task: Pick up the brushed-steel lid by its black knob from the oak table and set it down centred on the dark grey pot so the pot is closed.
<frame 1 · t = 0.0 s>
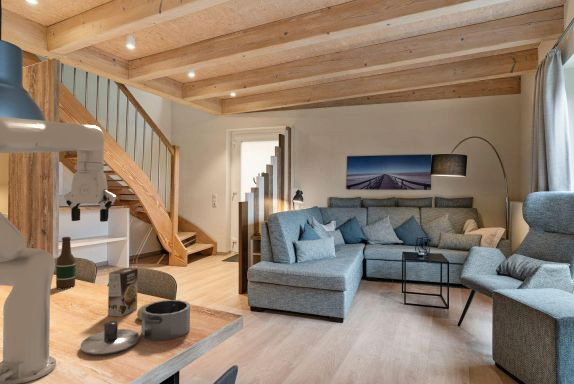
hand: (89, 221, 112), 37 cm above the table, tool pointing down, fingers open, 9 cm apart
beer bottle: (65, 287, 164), on the table
pot: (166, 330, 115), on the table
lid: (110, 345, 104), on the table
coffee box: (123, 312, 132), on the table
sea urchin shell: (150, 318, 127), on the table
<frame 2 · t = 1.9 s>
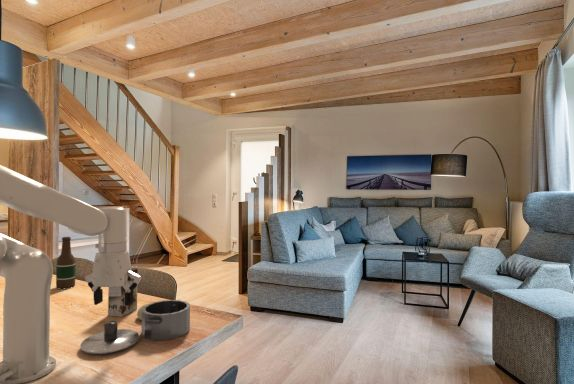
hand: (113, 303, 104), 12 cm above the table, tool pointing down, fingers open, 9 cm apart
nothing on the table moved.
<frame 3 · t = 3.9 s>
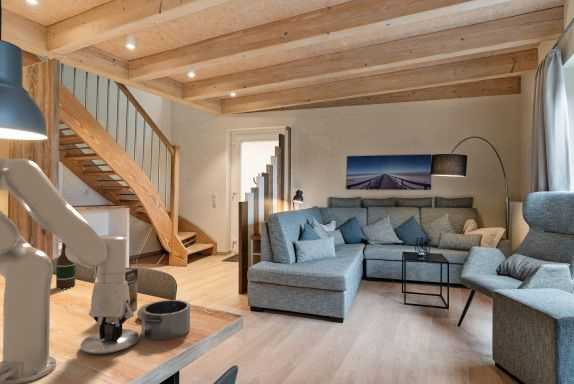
hand: (110, 337, 104), 2 cm above the table, tool pointing down, fingers closed on lid, 3 cm apart
lid: (110, 345, 104), on the table, touching gripper
everything else where it was.
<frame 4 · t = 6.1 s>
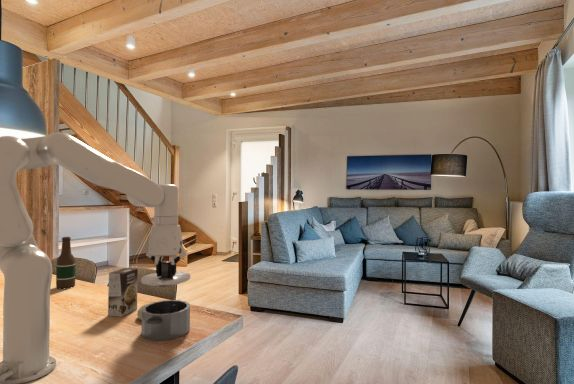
hand: (166, 275, 114), 19 cm above the table, tool pointing down, fingers closed on lid, 3 cm apart
lid: (166, 282, 115), point 16 cm above the table, touching gripper
everything else where it was.
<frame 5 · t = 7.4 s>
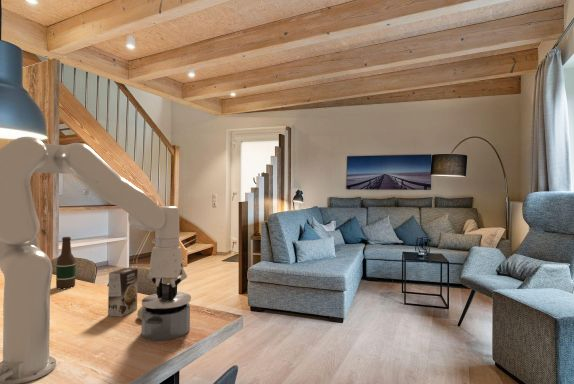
hand: (166, 297, 115), 11 cm above the table, tool pointing down, fingers closed on lid, 3 cm apart
lid: (166, 303, 115), point 9 cm above the table, touching gripper
everything else where it was.
when the fingers open (11 cm above the table, at t = 8.2 s): lid drops 1 cm, resting on pot.
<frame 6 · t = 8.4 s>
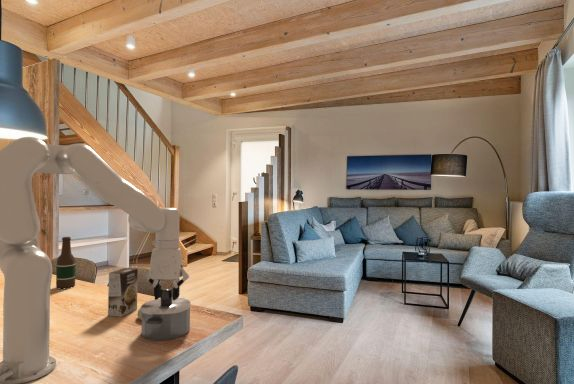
hand: (166, 298, 115), 11 cm above the table, tool pointing down, fingers open, 5 cm apart
lid: (166, 310, 115), point 7 cm above the table, touching pot
everything else where it was.
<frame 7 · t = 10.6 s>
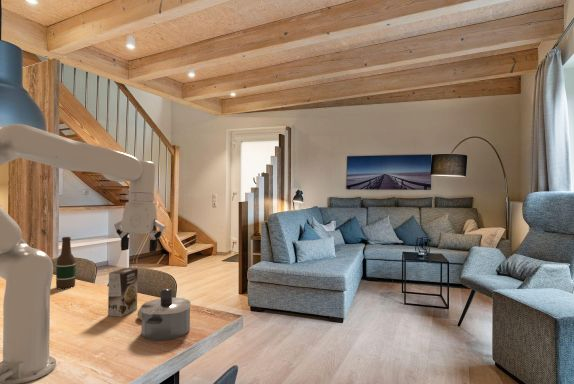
hand: (138, 250, 112), 27 cm above the table, tool pointing down, fingers open, 9 cm apart
nothing on the table moved.
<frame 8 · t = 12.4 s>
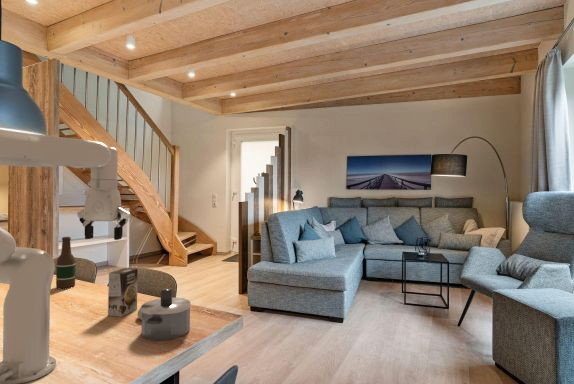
hand: (103, 239, 109), 31 cm above the table, tool pointing down, fingers open, 9 cm apart
nothing on the table moved.
at the end: lid 0.1 cm off-centre on the pot, point 7.0 cm above the pot's base; lid tilted 0°; the gripper is holding nothing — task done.
